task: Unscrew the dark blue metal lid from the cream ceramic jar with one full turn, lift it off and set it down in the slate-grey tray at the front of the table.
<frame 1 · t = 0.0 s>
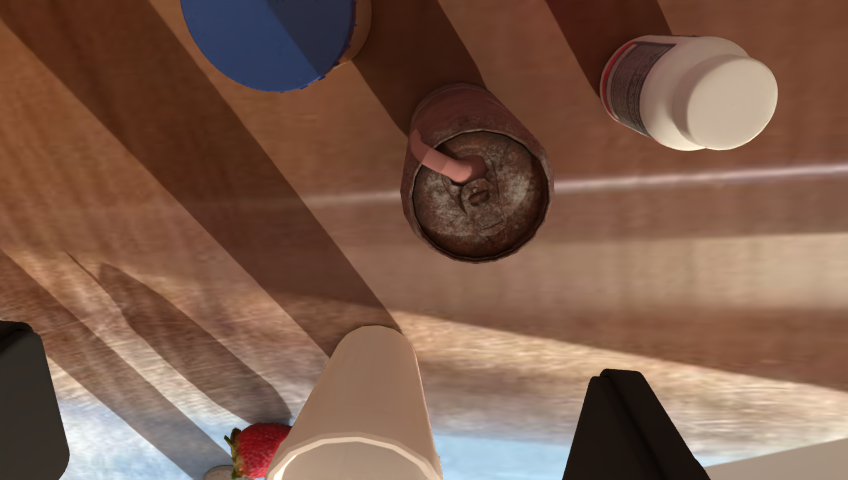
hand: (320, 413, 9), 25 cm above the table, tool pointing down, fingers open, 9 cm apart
cup: (376, 355, 39), on the table
fruit: (275, 425, 42), on the table
jar: (315, 10, 29), on the table
can: (455, 128, 32), on the table
lid: (268, 4, 20), point 9 cm above the table, screwed on, not yet turned
pill bottle: (640, 81, 31), on the table
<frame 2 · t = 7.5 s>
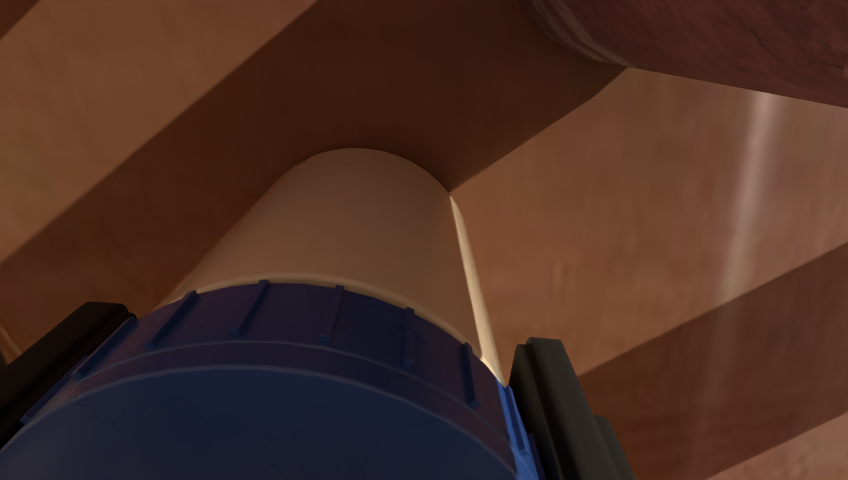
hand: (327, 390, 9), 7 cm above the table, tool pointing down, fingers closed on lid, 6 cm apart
jar: (361, 254, 15), on the table, touching gripper
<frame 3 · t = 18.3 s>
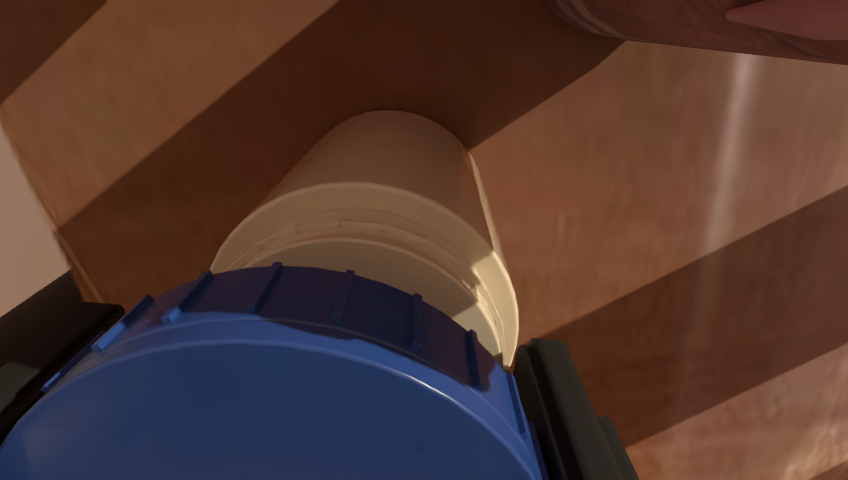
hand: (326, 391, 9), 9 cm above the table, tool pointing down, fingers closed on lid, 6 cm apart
jar: (391, 204, 18), on the table
when the fingers open (2 cm above the table, at t = 36.6 s): lid drops 3 cm, resting on tray.
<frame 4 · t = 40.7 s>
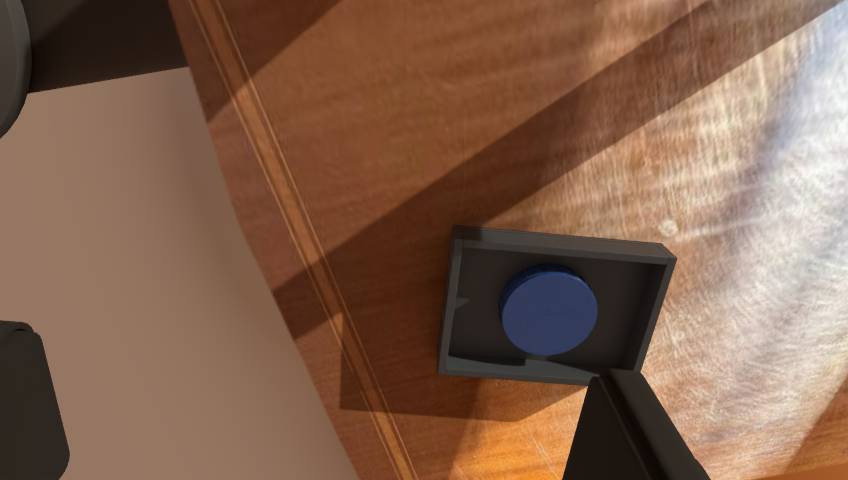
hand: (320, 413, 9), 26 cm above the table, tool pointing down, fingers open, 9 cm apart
tray: (543, 301, 38), on the table
lid: (548, 313, 36), point 2 cm above the table, off its thread, touching tray
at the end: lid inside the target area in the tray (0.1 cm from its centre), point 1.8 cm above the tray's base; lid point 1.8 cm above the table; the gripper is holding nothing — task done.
